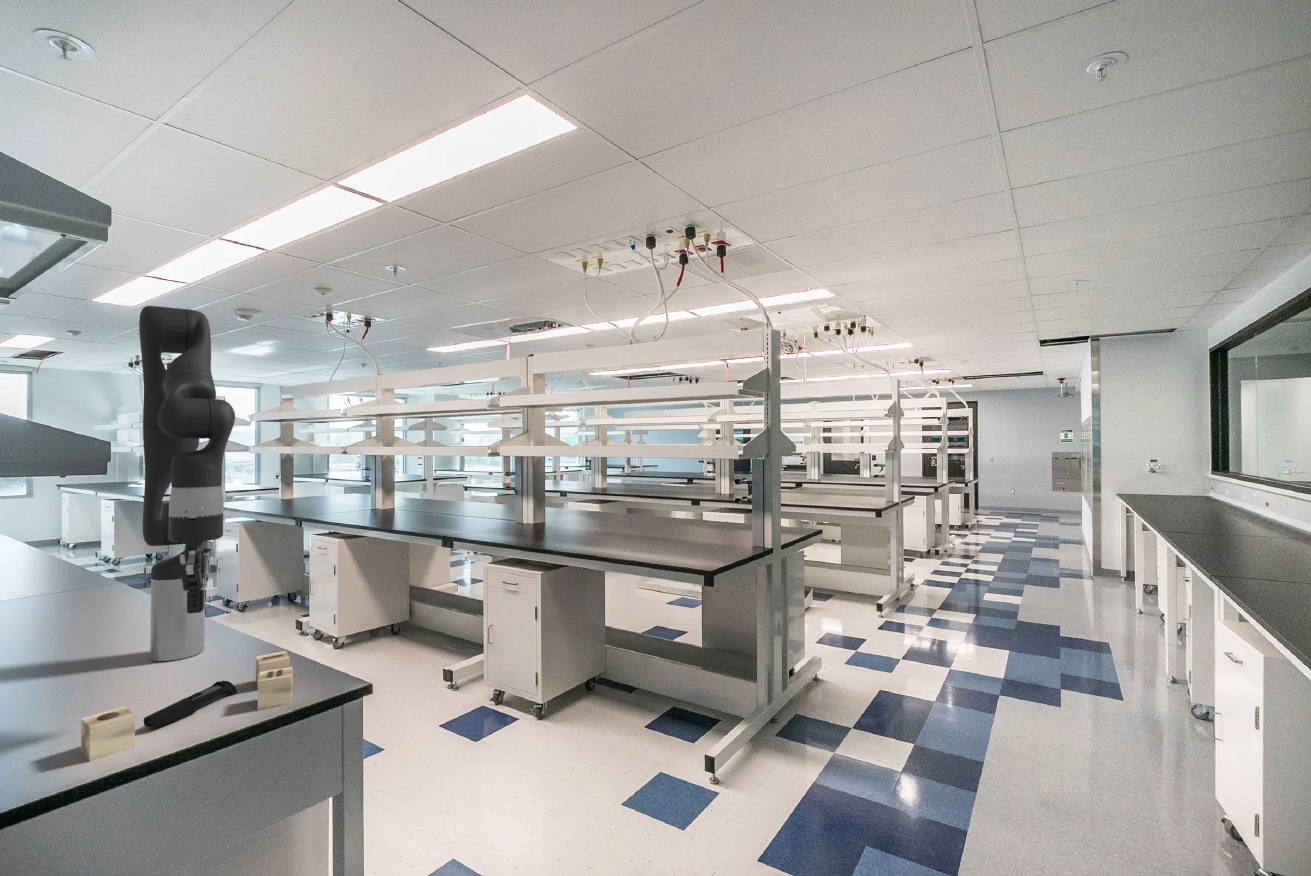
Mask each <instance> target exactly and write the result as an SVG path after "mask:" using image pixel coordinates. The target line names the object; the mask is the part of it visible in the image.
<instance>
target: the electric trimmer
mask: <svg viewBox="0 0 1311 876" xmlns="http://www.w3.org/2000/svg"><path fill="white" fill-rule="evenodd" d="M237 691H238V690H237V688H236V686H235V685H234V683H232V682H230V681H229V680H228V681H227V680H221V681H216V682H215V683H213V684H212V685H211V686H209V687H207V688H204V689H203V690H201V691H198V692H195V693H193V694H192V695H190V696H187V697H185V698H183V699H180V700H178V701H176V702H174V703H172V704H171V705H168V706H165V707H164V708H161V709H160V710H158V711H156V712H153V713H151V714H149V715H147V716H145V717H144V718H143V726H144V727H147V728H159V727H162V726H164V725H168V724H170V723H173V722H176V721H179V720H181V719H183V718H186V717H188V716H191V715H194V714H195V713H196V711H197V710H199V709H201V708H203V707H206V706H207V705H209V704H212V703H214V702H216V701H218V700H220V699H223V698H225V697H227V696H234V695H236V693H237Z"/></svg>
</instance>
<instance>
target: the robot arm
mask: <svg viewBox="0 0 1311 876" xmlns="http://www.w3.org/2000/svg"><path fill="white" fill-rule="evenodd" d="M138 324H139V326H138V327H139V328H138V330H139V333H138V334H139V342H140V353H141V354H140V355H141V364H142V365H141V366H142V378H143V400H142V403H143V404H142V406H143V408H142V440H143V441H142V444H143V456H144V457H143V458H144V460H143V461H144V489H143V490H144V491H143V494H144V495H143V505H142V506H143V509H142V535H143V536H142V537H143V539H144V543H145V544H147V546H150V547H165V546H177V545H184V550H183V551H182V552H180V553H179V554H177V555H175V556H172V557H170V558H167V559H164V560H161V561H159V562H156V563H155V564H153V565H152V566H151V569H150V570H151V571H150V578H151V579H150V645H149V646H150V651H149V654H150V655H149V656H150V657H149V658H150V660H151V661H154V662H166V661H176V660H182V659H186V658H189V657H193V656H196V655H199V654H201V653H202V652H204V650H205V642H206V641H205V640H206V639H205V633H206V629H205V628H206V626H205V625H206V624H205V623H206V613H205V612H206V588H207V586H208V584H207V583H208V581H209V574H210V572H211V571H210V570H211V568H210V567H211V559H212V556H213V553H212V552H213V549H212V548H208V547H209V546H208V541H209V542H210V541H214V540H219V539H221V538H222V537H223V536H224V492H223V486H222V485H223V461H224V454H225V451H226V448H227V444H228V442H229V438H230V436H231V433H232V431H233V428H234V426H235V420H236V413H235V410H234V408H233V406H232V405H231V403H230V402H228V401H226V400H224V399H217V391H216V387H215V383H214V378H213V374H212V342H211V341H212V337H211V335H212V334H211V327H210V323H209V320H208V318H207V316H206V314H204V313H203V312H201V311H198V310H196V309H187V308H178V307H167V306H158V305H157V306H155V305H145V306H144V307H143V308H142V309H141V311H140V313H139V322H138ZM165 353H166V354H167V353H168V354H179V355H178V356H177V357H176V358H174V359H173V360H172V361H171V362H170V363H169V365H168V366H167V368H166V367H165V364H164V363H163V359H162V354H165ZM200 439H201V440H202V439H205V440H206V439H208V442H207V444H206V445H205V446H204V447H202V448H201V449H198V448H199V445H200ZM170 486H171V487H170ZM169 487H170V494H169V497H168V499H169V500H168V502H163V499H164V497H165V494H166V492H167V490H168V488H169Z"/></svg>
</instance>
